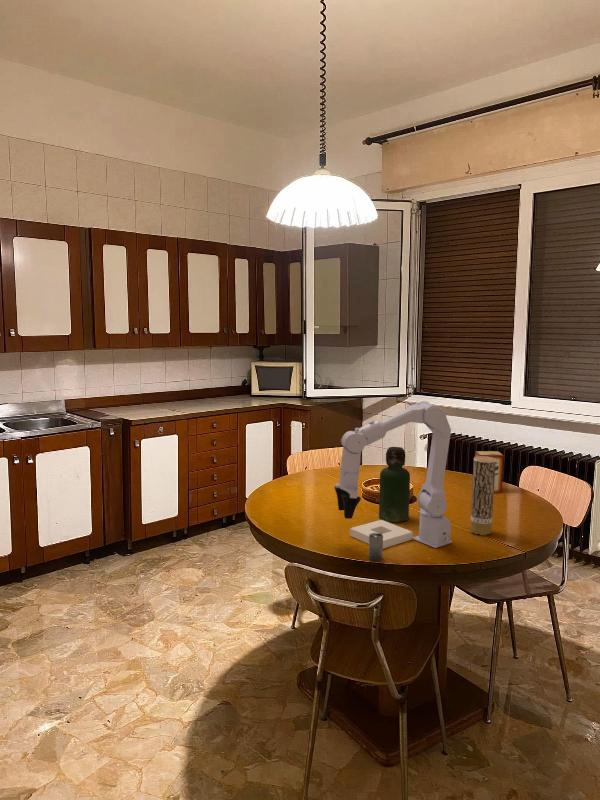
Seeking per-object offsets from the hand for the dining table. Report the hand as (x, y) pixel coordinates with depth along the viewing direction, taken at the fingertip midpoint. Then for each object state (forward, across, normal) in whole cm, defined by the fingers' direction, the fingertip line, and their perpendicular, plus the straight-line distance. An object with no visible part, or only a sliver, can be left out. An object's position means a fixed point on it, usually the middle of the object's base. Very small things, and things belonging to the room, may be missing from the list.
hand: (345, 514), depth 185 cm
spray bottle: (+8, -22, +24) cm, 34 cm away
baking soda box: (+4, -48, +73) cm, 87 cm away
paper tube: (+6, -4, +48) cm, 49 cm away
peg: (+10, +11, +8) cm, 16 cm away
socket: (+9, -5, +14) cm, 17 cm away
